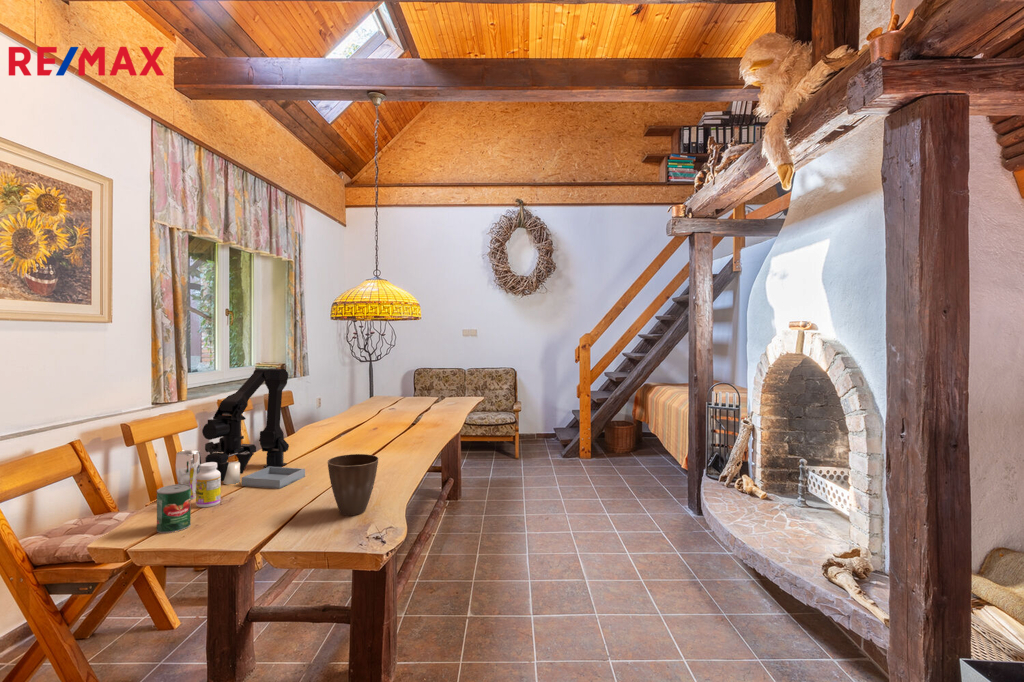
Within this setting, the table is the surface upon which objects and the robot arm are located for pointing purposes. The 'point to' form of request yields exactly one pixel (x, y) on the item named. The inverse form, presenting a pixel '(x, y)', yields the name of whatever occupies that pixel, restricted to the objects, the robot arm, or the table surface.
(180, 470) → the light grey tall piece
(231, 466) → the cream rounded block
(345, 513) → the plant pot
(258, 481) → the tray
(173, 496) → the canned tomato
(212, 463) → the supplement bottle
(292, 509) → the table surface
